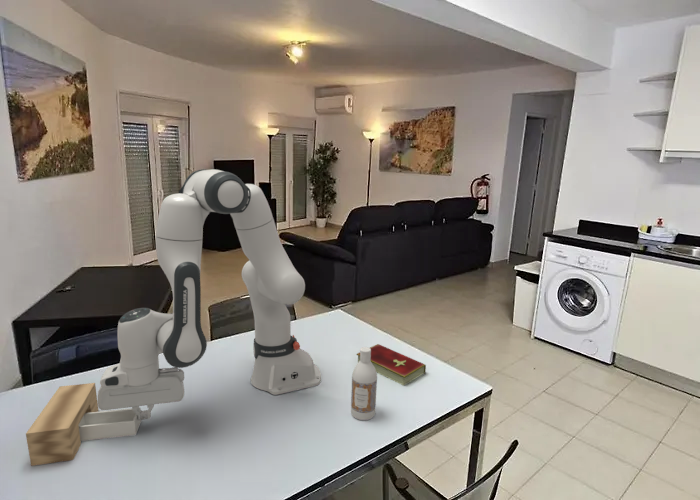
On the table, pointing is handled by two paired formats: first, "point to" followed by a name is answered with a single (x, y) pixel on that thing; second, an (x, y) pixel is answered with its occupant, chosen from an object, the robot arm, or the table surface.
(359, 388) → the bath foam
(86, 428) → the white drawer
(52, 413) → the overhang dock
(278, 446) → the table surface
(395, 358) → the hardcover book
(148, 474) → the table surface
